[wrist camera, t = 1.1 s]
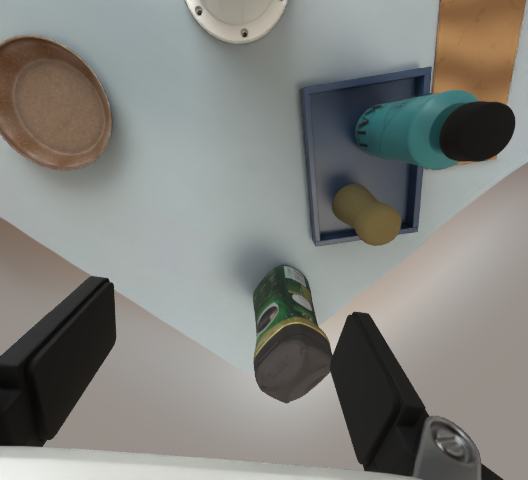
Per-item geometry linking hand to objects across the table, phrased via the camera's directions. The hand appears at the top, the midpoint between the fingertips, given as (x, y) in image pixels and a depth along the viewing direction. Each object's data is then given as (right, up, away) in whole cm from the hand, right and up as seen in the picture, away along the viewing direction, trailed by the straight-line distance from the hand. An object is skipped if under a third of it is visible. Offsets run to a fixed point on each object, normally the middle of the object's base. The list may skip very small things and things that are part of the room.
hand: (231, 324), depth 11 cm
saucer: (-25, +21, +24) cm, 41 cm away
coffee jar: (+4, -5, +36) cm, 36 cm away
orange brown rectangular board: (+28, +25, +24) cm, 45 cm away
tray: (+15, +14, +28) cm, 35 cm away
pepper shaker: (+15, +9, +30) cm, 34 cm away
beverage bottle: (+16, +19, +26) cm, 36 cm away
